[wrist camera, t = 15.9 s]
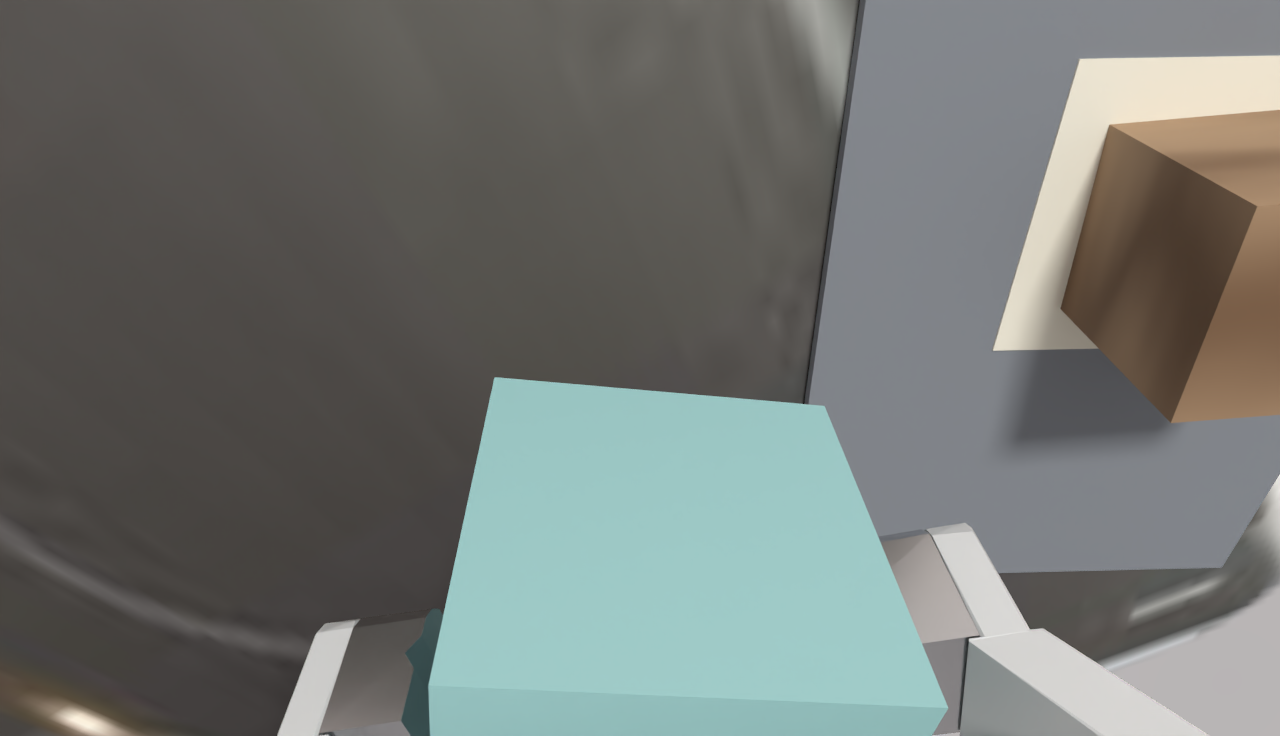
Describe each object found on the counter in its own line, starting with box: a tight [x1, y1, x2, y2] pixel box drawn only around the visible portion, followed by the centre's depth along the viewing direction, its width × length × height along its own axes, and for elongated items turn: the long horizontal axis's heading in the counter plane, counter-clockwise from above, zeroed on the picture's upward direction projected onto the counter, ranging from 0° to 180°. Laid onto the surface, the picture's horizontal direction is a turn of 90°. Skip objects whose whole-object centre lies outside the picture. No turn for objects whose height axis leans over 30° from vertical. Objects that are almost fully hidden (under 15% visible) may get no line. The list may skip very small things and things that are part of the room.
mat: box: [804, 0, 1280, 573], centre depth 19 cm, size 20×14×1 cm
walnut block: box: [1060, 110, 1280, 423], centre depth 15 cm, size 4×4×4 cm
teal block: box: [428, 377, 948, 736], centre depth 10 cm, size 4×4×4 cm
